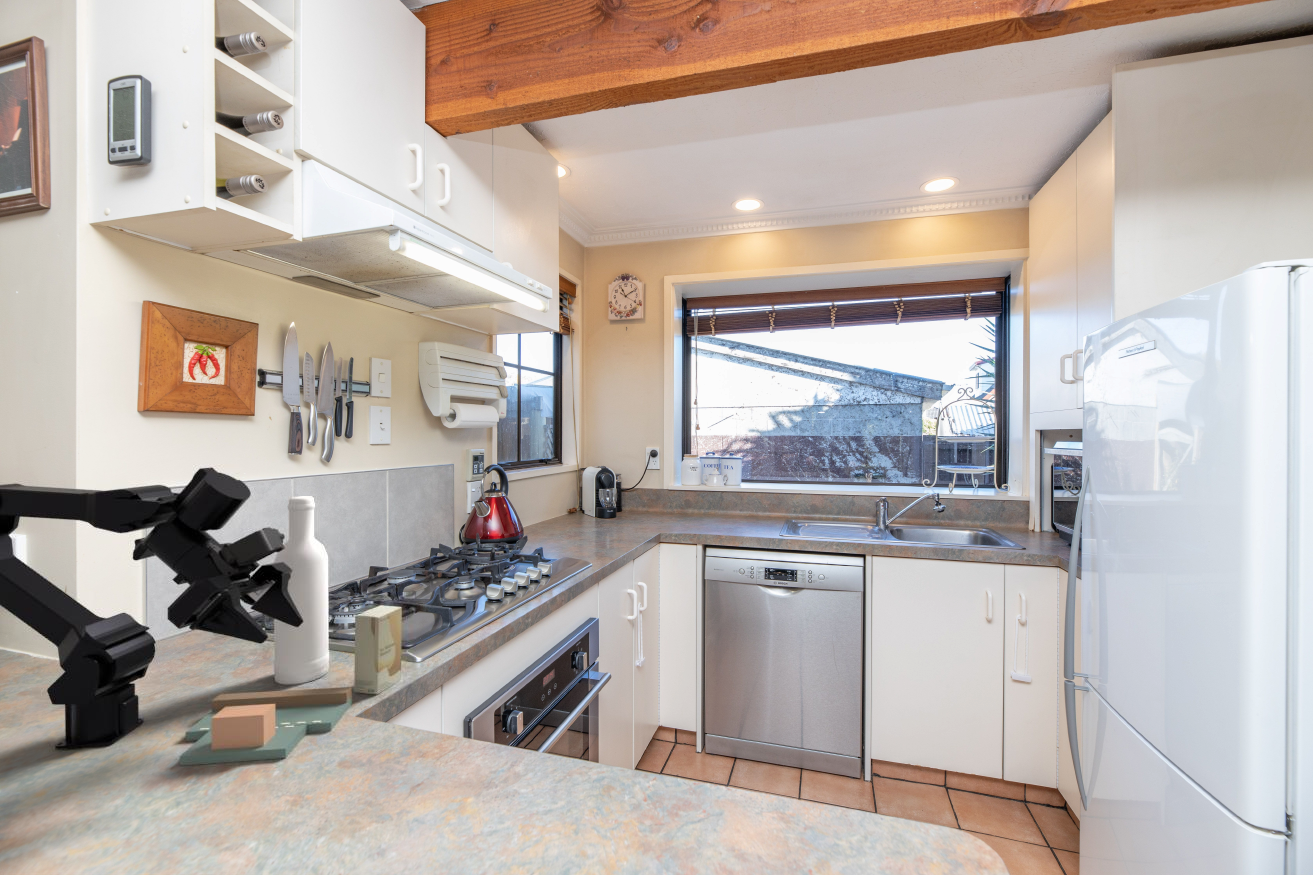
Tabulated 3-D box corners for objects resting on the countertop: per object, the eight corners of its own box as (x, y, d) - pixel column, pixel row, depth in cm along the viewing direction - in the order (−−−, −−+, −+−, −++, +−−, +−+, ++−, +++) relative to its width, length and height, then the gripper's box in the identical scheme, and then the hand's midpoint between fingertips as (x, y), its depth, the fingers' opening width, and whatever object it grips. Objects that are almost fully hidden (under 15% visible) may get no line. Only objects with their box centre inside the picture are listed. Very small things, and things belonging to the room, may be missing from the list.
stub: (179, 765, 72) (179, 723, 72) (209, 739, 78) (209, 700, 78) (285, 757, 74) (285, 717, 73) (306, 733, 80) (306, 695, 79)
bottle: (270, 689, 93) (270, 501, 92) (276, 670, 100) (275, 495, 99) (328, 679, 97) (327, 498, 96) (330, 662, 104) (329, 493, 103)
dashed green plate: (185, 740, 78) (185, 720, 77) (221, 711, 85) (220, 693, 85) (331, 731, 80) (331, 711, 80) (352, 703, 88) (352, 686, 88)
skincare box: (377, 695, 91) (377, 617, 91) (353, 693, 92) (352, 615, 91) (403, 678, 97) (403, 605, 97) (380, 676, 98) (380, 603, 98)
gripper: (195, 512, 70) (293, 597, 71) (277, 508, 89) (355, 576, 89) (122, 584, 69) (223, 670, 69) (221, 565, 87) (301, 633, 87)
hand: (283, 631), depth 79 cm, fingers open, 9 cm apart
